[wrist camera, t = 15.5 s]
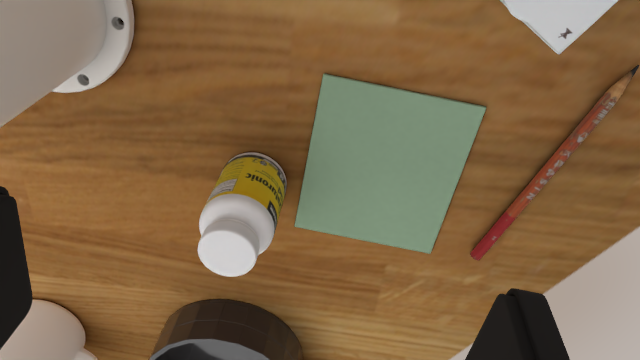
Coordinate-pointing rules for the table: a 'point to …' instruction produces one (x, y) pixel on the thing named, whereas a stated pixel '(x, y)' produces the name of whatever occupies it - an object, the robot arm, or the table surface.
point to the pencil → (554, 163)
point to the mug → (47, 336)
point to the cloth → (384, 162)
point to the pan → (225, 334)
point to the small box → (558, 18)
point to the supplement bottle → (241, 214)
